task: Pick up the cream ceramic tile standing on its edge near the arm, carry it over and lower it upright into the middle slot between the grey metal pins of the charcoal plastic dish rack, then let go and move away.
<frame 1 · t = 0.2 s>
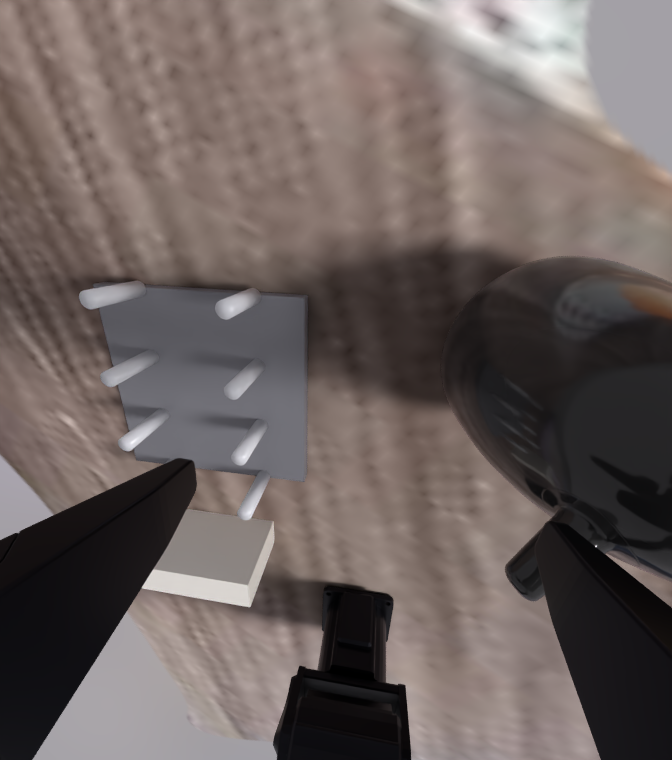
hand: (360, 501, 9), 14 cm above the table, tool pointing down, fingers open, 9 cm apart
pump dispenser: (515, 341, 21), on the table
tile: (221, 522, 31), on the table
rack: (214, 385, 25), on the table
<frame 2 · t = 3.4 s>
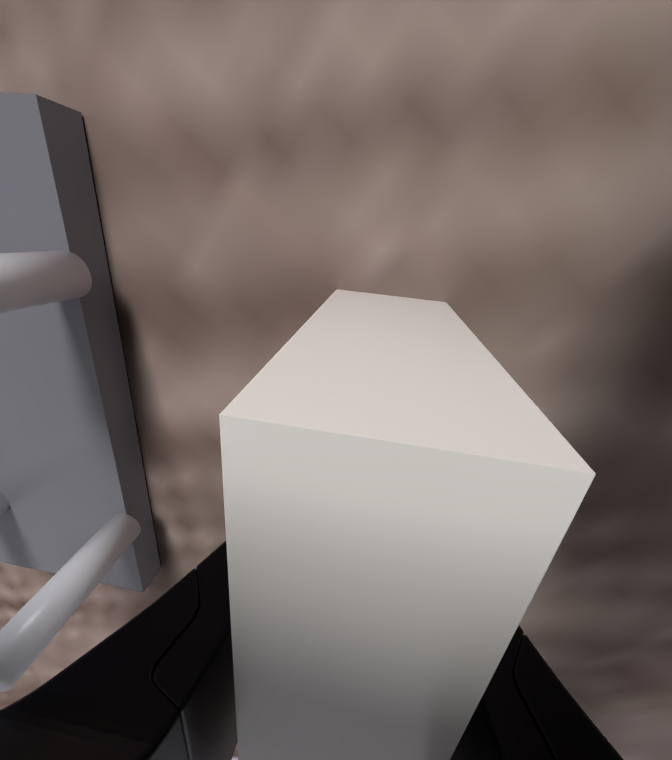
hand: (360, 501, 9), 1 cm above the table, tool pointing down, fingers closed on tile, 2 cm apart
tile: (363, 470, 10), on the table, touching gripper
when the fingers open (3 cm above the table, at t = 7.8 s): tile drops 1 cm, resting on rack.
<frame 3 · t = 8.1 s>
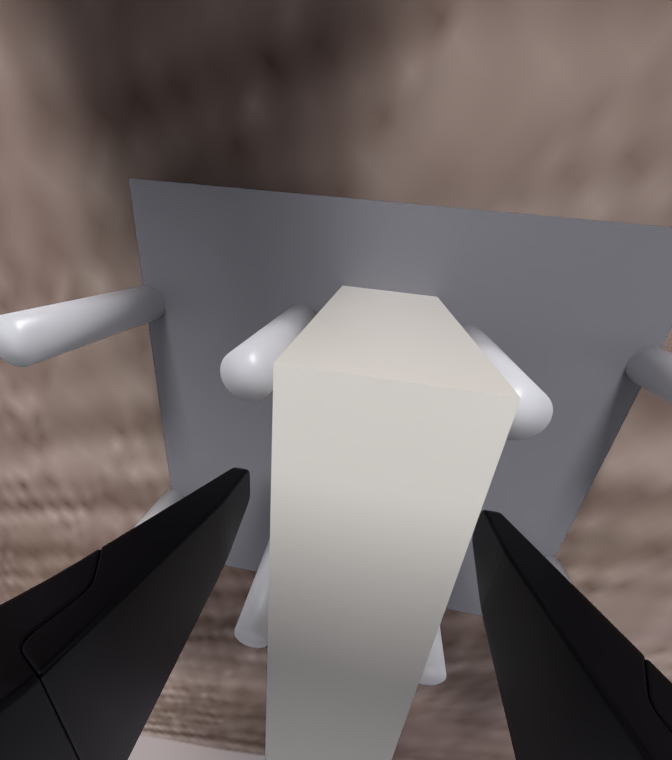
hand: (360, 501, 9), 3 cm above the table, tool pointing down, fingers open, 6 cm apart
tile: (364, 447, 11), point 1 cm above the table, touching rack
rack: (366, 429, 12), on the table
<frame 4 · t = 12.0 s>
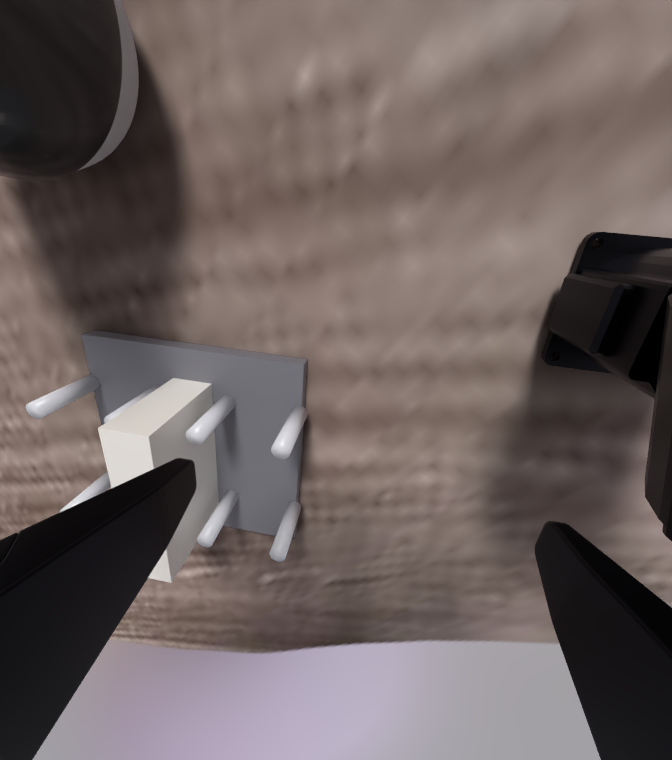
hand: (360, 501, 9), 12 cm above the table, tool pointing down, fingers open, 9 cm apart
pump dispenser: (81, 74, 16), on the table
tile: (198, 447, 23), point 1 cm above the table, touching rack
rack: (205, 438, 24), on the table
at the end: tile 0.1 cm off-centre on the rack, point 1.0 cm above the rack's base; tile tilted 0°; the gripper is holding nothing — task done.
